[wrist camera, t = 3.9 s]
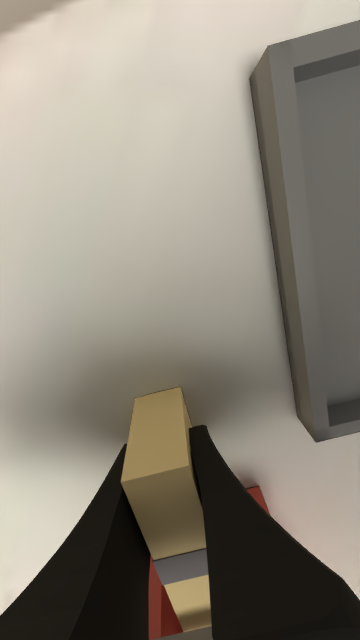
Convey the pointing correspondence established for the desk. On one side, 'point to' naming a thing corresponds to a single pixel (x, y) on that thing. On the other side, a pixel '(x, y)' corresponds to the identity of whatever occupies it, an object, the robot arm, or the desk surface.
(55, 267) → the desk surface
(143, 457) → the wooden blocks
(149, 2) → the desk surface
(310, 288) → the ticket tray
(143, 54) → the desk surface
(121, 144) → the desk surface
